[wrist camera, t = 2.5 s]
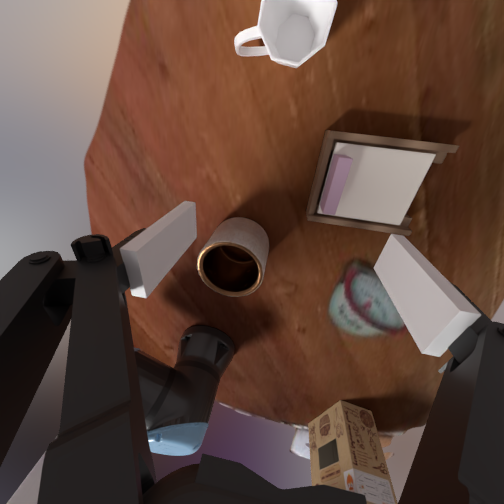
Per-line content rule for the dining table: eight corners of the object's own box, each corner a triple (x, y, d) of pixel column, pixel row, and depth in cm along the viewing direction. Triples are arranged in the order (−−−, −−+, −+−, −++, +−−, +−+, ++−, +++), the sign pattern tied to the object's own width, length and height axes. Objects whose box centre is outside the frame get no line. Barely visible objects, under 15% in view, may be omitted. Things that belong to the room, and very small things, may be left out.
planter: (204, 243, 43) (184, 271, 34) (235, 203, 37) (219, 225, 29) (246, 274, 45) (237, 307, 37) (281, 240, 40) (279, 271, 31)
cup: (324, 74, 27) (336, 57, 20) (247, 92, 29) (233, 82, 22) (325, -8, 23) (339, -63, 16) (237, 19, 25) (217, -19, 18)
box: (318, 391, 63) (336, 570, 38) (378, 413, 64) (435, 601, 39) (289, 416, 74) (288, 568, 49) (340, 435, 75) (365, 592, 50)
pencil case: (305, 211, 36) (307, 220, 32) (325, 129, 30) (330, 130, 26) (397, 225, 35) (409, 235, 31) (439, 143, 28) (459, 145, 25)
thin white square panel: (316, 211, 33) (320, 222, 29) (335, 142, 28) (342, 144, 24) (397, 222, 32) (411, 236, 28) (431, 153, 27) (454, 158, 23)
